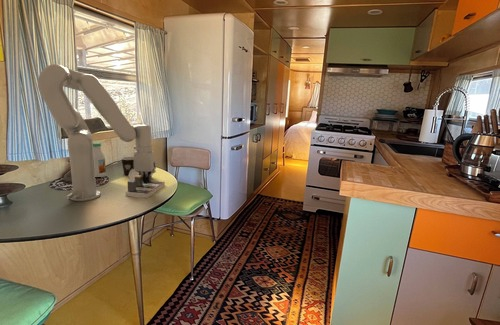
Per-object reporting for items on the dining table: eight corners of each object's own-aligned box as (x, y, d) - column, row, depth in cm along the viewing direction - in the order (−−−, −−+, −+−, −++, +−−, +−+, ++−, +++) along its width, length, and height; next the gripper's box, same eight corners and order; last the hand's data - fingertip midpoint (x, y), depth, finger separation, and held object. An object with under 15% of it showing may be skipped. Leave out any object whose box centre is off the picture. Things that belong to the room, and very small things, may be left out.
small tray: (146, 198, 132) (146, 184, 130) (125, 195, 133) (125, 182, 131) (164, 185, 151) (164, 173, 150) (146, 183, 152) (145, 171, 151)
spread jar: (154, 176, 165) (154, 158, 163) (147, 182, 154) (146, 162, 152) (135, 175, 166) (134, 157, 163) (126, 181, 155) (125, 161, 152)
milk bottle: (94, 179, 155) (91, 144, 150) (89, 175, 160) (86, 142, 155) (108, 176, 160) (106, 143, 156) (103, 173, 165) (100, 141, 161)
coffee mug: (119, 174, 165) (118, 158, 163) (128, 171, 173) (128, 156, 171) (134, 177, 162) (134, 161, 160) (144, 173, 170) (143, 158, 168)
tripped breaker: (140, 186, 141) (140, 176, 139) (135, 185, 141) (134, 176, 140) (143, 184, 143) (142, 175, 142) (137, 184, 143) (137, 174, 142)
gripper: (126, 149, 134) (129, 184, 139) (154, 151, 132) (156, 186, 137) (134, 146, 142) (136, 179, 146) (161, 148, 140) (162, 182, 144)
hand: (146, 183), depth 142 cm, fingers closed
